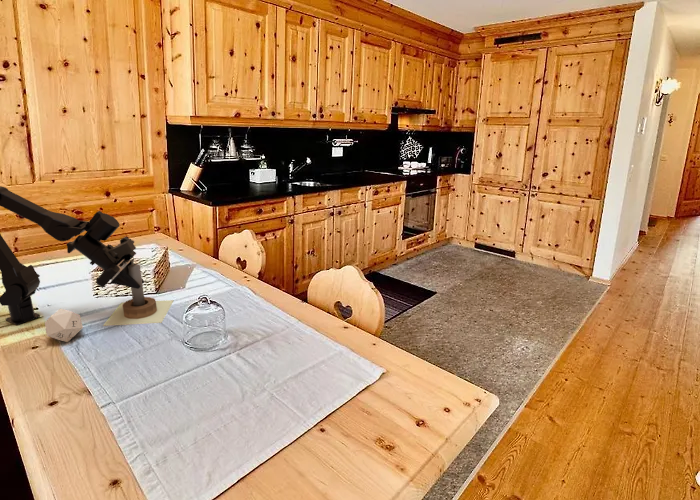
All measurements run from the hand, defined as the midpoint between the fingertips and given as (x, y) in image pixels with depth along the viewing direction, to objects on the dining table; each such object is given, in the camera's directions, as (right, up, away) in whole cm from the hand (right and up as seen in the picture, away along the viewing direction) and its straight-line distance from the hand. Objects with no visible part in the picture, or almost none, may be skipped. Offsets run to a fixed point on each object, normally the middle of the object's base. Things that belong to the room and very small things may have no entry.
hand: (141, 285), depth 133 cm
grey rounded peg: (-1, -6, +2) cm, 7 cm away
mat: (-1, -9, +3) cm, 9 cm away
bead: (-1, -8, +2) cm, 9 cm away
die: (-15, -13, -12) cm, 23 cm away
